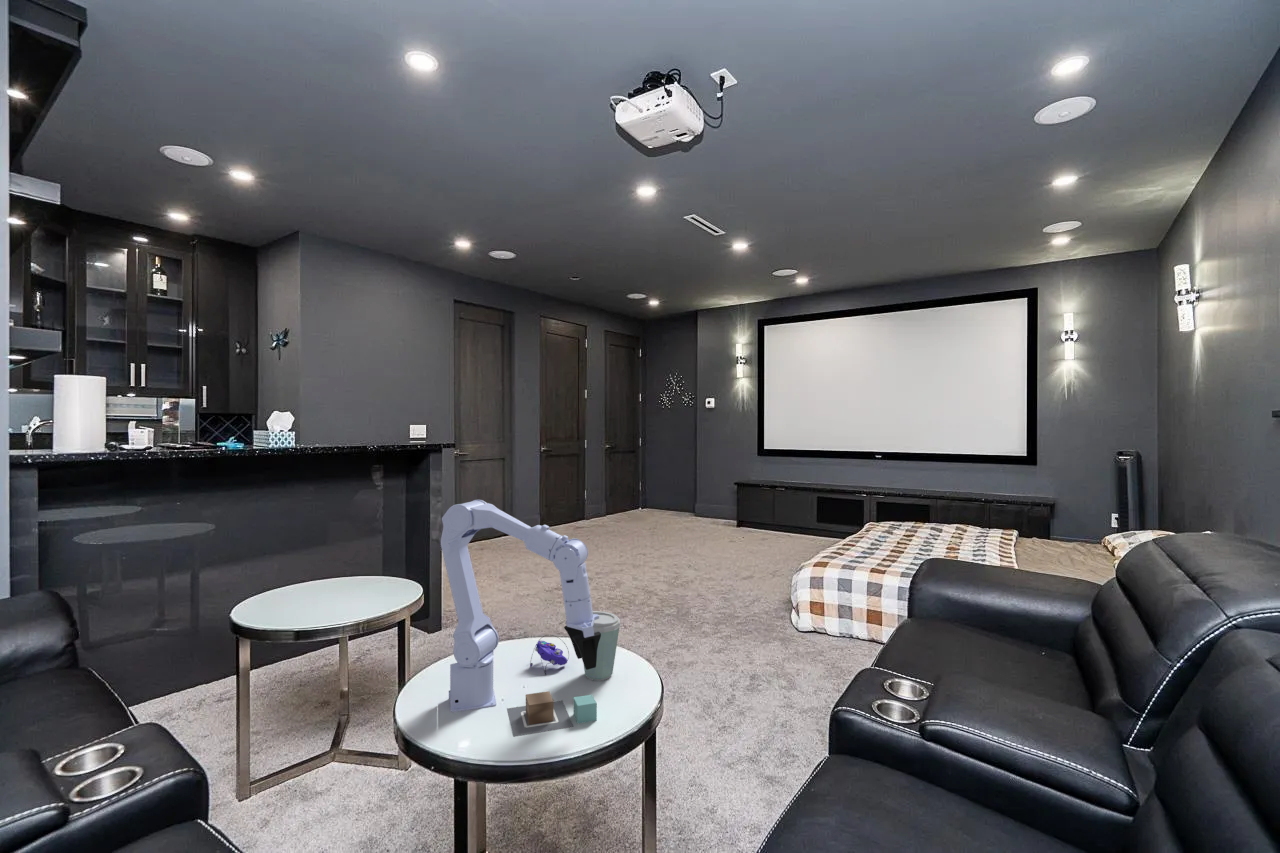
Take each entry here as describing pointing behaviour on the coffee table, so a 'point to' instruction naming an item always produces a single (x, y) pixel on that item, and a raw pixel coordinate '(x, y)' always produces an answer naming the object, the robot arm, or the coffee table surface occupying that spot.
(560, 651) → the game controller
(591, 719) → the teal cube
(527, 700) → the walnut block
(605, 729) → the coffee table surface
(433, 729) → the coffee table surface
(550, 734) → the coffee table surface
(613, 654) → the disposable coffee cup
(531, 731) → the mat
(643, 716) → the coffee table surface
